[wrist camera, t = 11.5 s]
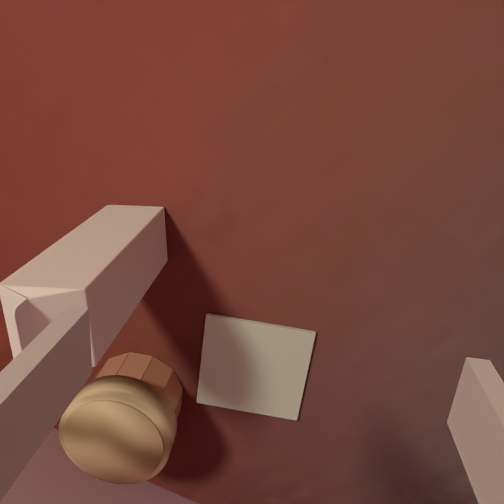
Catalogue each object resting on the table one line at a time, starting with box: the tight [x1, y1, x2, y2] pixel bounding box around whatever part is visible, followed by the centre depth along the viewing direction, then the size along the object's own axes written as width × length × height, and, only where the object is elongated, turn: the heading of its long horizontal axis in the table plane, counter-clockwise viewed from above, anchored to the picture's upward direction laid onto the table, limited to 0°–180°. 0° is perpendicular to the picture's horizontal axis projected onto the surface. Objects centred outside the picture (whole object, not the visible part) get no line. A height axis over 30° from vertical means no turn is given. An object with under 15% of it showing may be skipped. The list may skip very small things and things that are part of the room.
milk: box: [0, 205, 168, 367], centre depth 39 cm, size 6×6×22 cm
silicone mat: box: [196, 313, 316, 420], centre depth 53 cm, size 12×12×1 cm
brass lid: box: [59, 375, 177, 484], centre depth 50 cm, size 12×12×4 cm
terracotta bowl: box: [93, 352, 183, 418], centre depth 54 cm, size 10×10×6 cm
